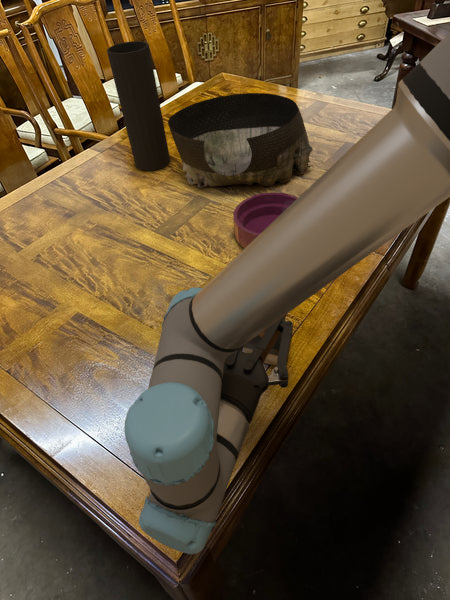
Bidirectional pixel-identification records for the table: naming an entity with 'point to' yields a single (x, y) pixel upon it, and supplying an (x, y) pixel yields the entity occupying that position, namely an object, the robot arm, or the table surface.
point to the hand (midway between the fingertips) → (275, 288)
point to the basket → (241, 140)
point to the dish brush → (273, 352)
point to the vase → (140, 103)
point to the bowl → (258, 214)
